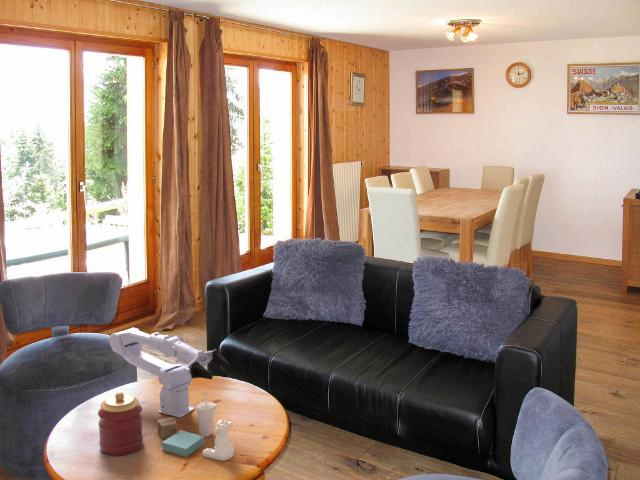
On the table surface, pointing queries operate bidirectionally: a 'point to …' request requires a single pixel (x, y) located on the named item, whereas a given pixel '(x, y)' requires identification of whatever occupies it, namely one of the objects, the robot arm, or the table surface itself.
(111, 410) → the canister
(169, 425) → the walnut block
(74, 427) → the table surface
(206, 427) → the smoothie
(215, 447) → the seated beast figurine
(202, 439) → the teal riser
